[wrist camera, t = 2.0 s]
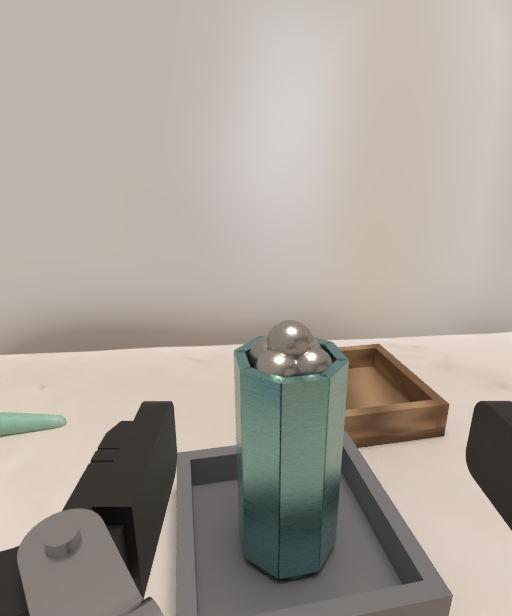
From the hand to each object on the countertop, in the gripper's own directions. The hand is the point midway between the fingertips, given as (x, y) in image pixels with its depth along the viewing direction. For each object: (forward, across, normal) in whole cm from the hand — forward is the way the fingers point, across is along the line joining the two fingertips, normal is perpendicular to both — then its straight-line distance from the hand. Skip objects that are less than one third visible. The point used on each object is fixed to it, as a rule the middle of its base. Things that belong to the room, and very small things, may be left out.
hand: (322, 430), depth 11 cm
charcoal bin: (+12, 0, +18) cm, 21 cm away
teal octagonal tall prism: (+12, 0, +17) cm, 20 cm away
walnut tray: (+29, -8, +17) cm, 35 cm away
